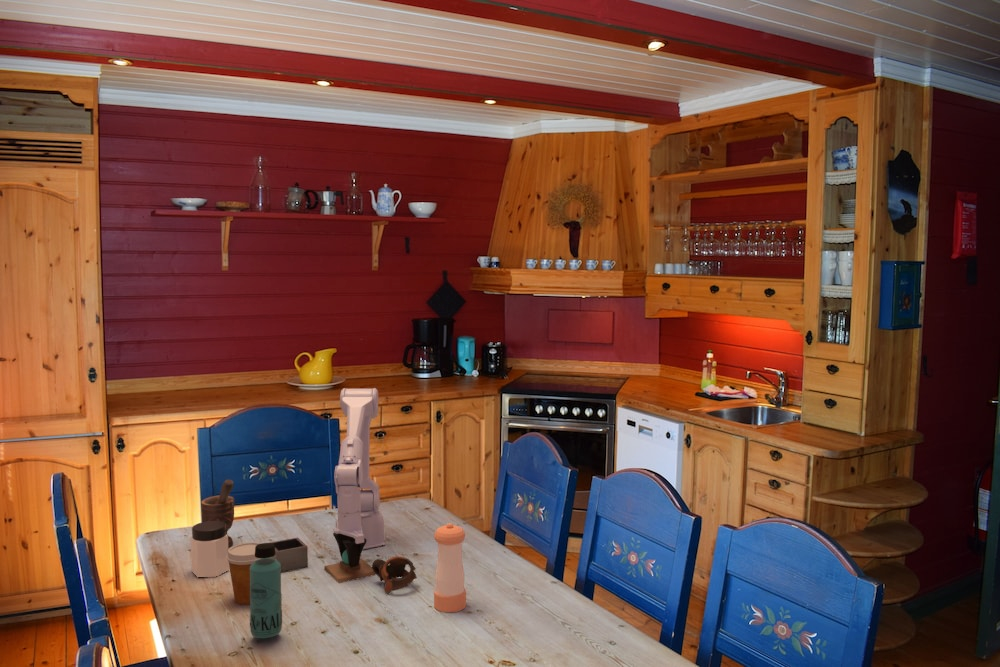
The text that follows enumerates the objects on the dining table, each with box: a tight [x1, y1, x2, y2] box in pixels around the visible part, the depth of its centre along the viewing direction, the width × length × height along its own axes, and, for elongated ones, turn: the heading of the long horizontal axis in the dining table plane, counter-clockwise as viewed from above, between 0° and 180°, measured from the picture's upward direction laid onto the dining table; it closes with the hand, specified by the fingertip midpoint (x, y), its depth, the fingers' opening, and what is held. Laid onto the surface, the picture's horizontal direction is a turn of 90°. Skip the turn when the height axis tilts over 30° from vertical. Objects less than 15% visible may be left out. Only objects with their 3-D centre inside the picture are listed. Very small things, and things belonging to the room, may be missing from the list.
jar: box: [190, 521, 230, 578], centre depth 199 cm, size 9×8×12 cm
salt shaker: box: [433, 522, 467, 613], centre depth 178 cm, size 7×7×19 cm
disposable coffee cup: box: [226, 542, 263, 606], centre depth 182 cm, size 10×10×12 cm
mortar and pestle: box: [200, 479, 235, 549], centre depth 216 cm, size 12×9×20 cm
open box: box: [269, 536, 309, 574], centre depth 203 cm, size 8×8×6 cm
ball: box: [341, 550, 349, 565], centre depth 199 cm, size 4×4×4 cm
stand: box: [323, 558, 377, 584], centre depth 199 cm, size 10×10×2 cm
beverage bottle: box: [248, 542, 283, 639], centre depth 162 cm, size 6×7×20 cm
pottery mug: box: [371, 555, 418, 594], centre depth 190 cm, size 12×9×8 cm
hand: (350, 562), depth 199 cm, fingers open, 5 cm apart
